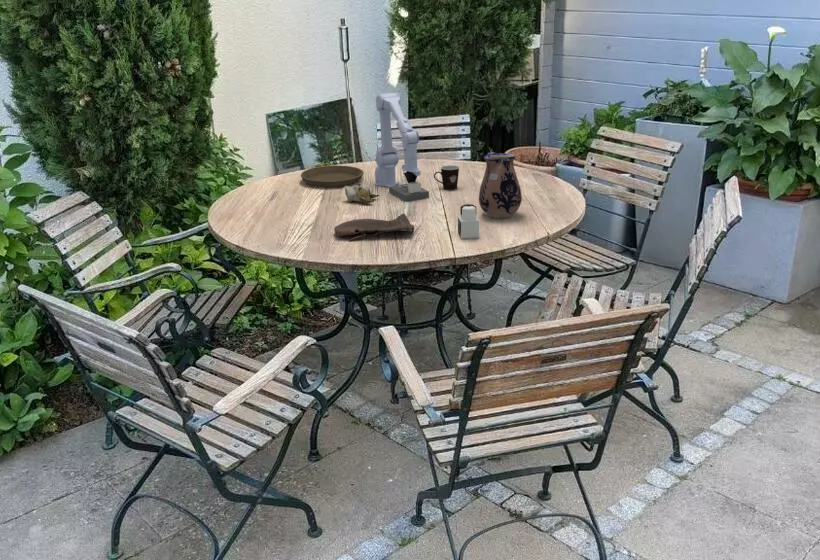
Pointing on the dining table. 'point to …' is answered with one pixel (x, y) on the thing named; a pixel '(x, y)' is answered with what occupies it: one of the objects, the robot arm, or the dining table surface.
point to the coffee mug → (449, 177)
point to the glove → (372, 227)
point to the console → (407, 193)
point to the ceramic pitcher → (500, 186)
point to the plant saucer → (332, 176)
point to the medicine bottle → (468, 222)
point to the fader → (414, 187)
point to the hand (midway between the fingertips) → (411, 187)
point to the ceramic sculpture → (359, 194)
